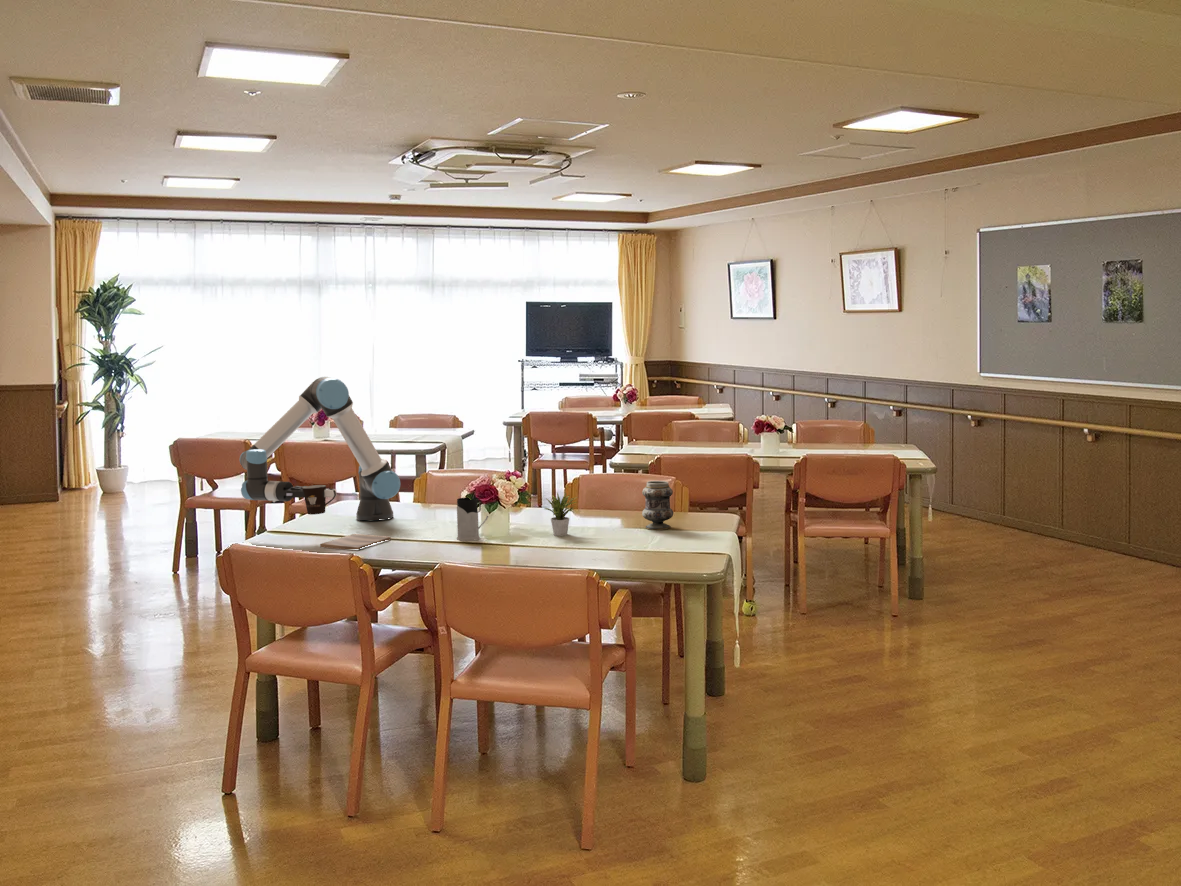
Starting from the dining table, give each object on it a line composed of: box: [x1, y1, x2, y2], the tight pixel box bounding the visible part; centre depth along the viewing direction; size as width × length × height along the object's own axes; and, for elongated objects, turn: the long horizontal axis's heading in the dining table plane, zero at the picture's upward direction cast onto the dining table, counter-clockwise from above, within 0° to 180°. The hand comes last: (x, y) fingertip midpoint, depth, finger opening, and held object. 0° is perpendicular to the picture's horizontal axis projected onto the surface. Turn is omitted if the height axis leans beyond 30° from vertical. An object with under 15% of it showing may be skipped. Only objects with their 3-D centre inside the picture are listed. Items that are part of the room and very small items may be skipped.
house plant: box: [544, 492, 578, 537], centre depth 418 cm, size 14×14×16 cm
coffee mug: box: [302, 484, 337, 516], centre depth 415 cm, size 12×9×10 cm
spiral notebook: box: [319, 533, 392, 550], centre depth 410 cm, size 20×17×1 cm
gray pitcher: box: [456, 497, 489, 542], centre depth 417 cm, size 9×14×15 cm, turn 127°
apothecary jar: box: [641, 480, 674, 531], centre depth 429 cm, size 12×12×18 cm
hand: (334, 493), depth 415 cm, fingers closed on coffee mug
